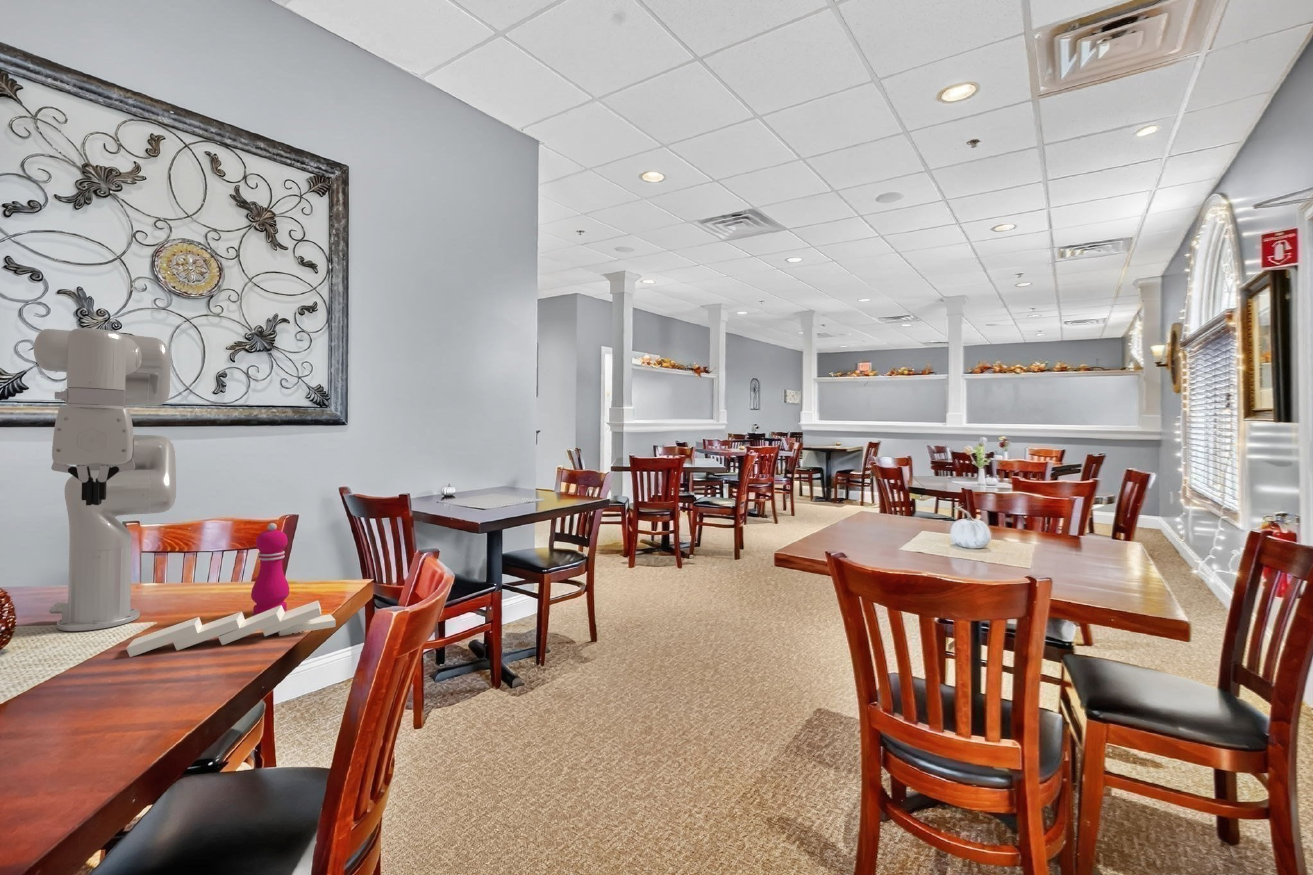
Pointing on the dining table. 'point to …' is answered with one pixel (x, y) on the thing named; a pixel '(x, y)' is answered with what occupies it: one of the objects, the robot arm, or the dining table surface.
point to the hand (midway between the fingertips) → (93, 504)
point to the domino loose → (164, 636)
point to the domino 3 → (295, 617)
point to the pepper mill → (270, 571)
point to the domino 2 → (254, 624)
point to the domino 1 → (212, 630)
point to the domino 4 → (311, 625)
